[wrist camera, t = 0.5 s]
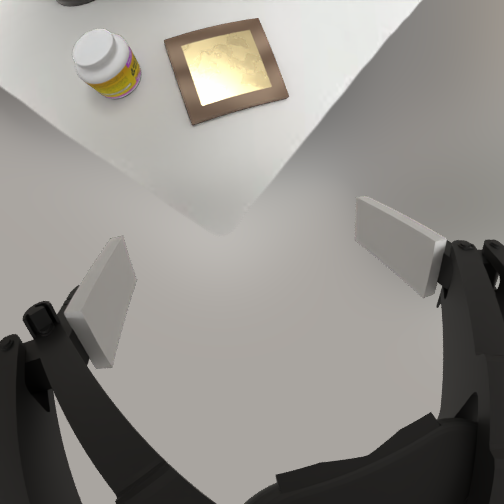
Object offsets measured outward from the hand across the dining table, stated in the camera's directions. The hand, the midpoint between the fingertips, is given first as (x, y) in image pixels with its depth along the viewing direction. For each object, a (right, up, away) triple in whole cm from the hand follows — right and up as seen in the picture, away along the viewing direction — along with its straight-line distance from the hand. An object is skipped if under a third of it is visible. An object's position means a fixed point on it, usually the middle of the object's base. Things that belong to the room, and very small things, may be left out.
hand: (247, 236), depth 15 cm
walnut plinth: (-3, +25, +18) cm, 31 cm away
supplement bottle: (-18, +24, +15) cm, 34 cm away
